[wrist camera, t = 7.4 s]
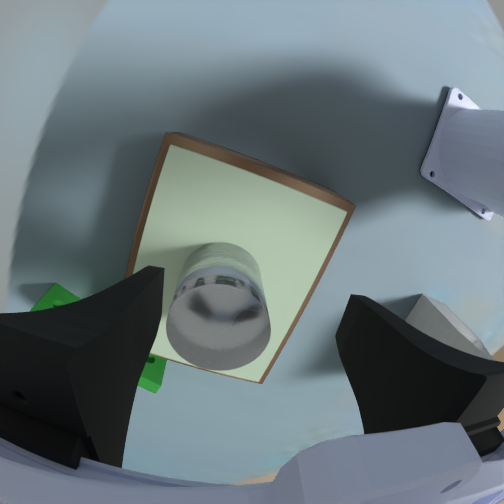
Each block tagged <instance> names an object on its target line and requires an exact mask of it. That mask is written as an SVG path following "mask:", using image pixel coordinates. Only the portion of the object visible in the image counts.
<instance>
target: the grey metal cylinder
mask: <svg viewBox="0 0 504 504" xmlns="http://www.w3.org/2000/svg"><path fill="white" fill-rule="evenodd" d="M166 334H167V337H168V340H169V342H170V344H171V346H172V348H173V349H174V350H175V351H176V353H177V354H178V355H179V356H181V357H182V358H183V359H184V360H186V361H187V362H189V363H191V364H193V365H195V366H197V367H200V368H203V369H208V370H215V371H224V370H232V369H237V368H240V367H243V366H245V365H247V364H249V363H251V362H252V361H254V360H255V359H257V358H258V357H259V356H260V355H261V354H262V353H263V351H264V350H265V348H266V347H267V345H268V343H269V340H270V336H271V324H270V319H269V314H268V308H267V303H266V298H265V293H264V288H263V283H262V278H261V273H260V269H259V266H258V264H257V262H256V260H255V259H254V257H253V256H252V255H251V254H250V253H249V252H248V251H246V250H245V249H243V248H242V247H240V246H237V245H235V244H231V243H226V242H215V243H210V244H206V245H204V246H201V247H200V248H198V249H196V250H195V251H194V252H193V253H192V254H191V255H190V256H189V257H188V258H187V260H186V261H185V263H184V266H183V269H182V272H181V275H180V278H179V281H178V284H177V287H176V290H175V293H174V297H173V300H172V303H171V306H170V309H169V313H168V316H167V320H166Z"/></svg>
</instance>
